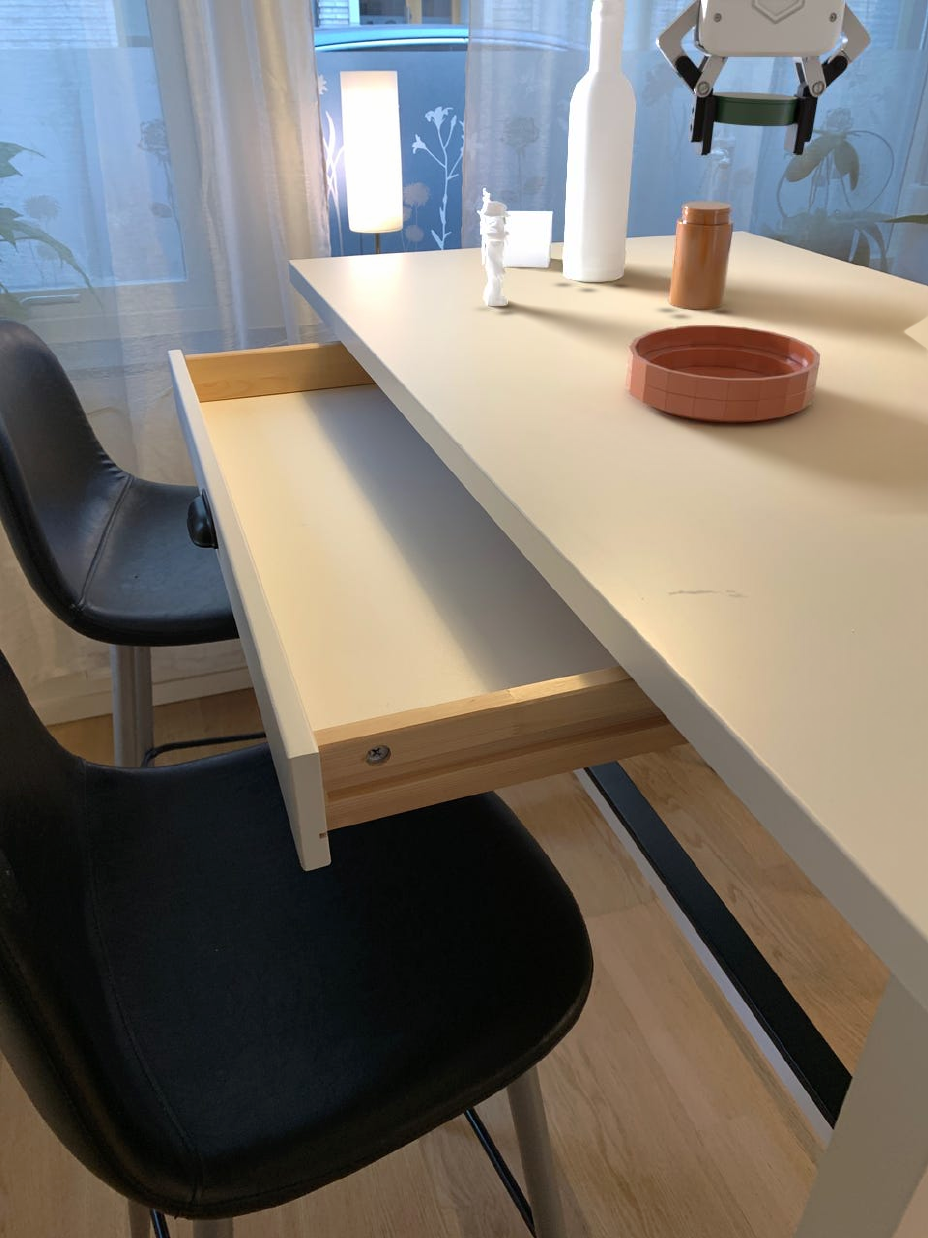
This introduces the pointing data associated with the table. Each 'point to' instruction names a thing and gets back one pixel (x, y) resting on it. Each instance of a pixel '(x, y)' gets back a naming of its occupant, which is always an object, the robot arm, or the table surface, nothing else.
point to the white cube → (528, 239)
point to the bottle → (600, 156)
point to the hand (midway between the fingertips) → (747, 150)
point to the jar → (701, 255)
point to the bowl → (722, 372)
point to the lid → (754, 109)
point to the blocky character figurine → (494, 248)
